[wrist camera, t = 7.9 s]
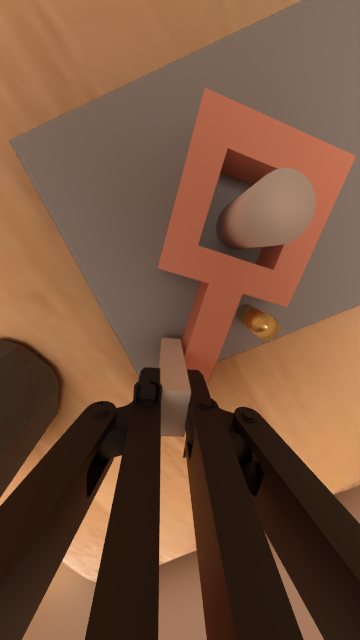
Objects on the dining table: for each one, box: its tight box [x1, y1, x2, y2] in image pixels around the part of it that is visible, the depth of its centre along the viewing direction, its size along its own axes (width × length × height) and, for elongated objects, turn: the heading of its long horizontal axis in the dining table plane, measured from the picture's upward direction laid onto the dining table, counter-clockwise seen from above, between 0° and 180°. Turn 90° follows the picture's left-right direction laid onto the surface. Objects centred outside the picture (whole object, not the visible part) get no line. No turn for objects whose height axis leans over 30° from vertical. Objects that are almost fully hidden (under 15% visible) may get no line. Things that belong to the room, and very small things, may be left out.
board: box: [9, 0, 360, 376], centre depth 13 cm, size 24×20×8 cm
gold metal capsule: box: [236, 304, 280, 341], centre depth 15 cm, size 2×2×4 cm
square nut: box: [158, 88, 356, 382], centre depth 15 cm, size 16×9×3 cm, turn 163°
